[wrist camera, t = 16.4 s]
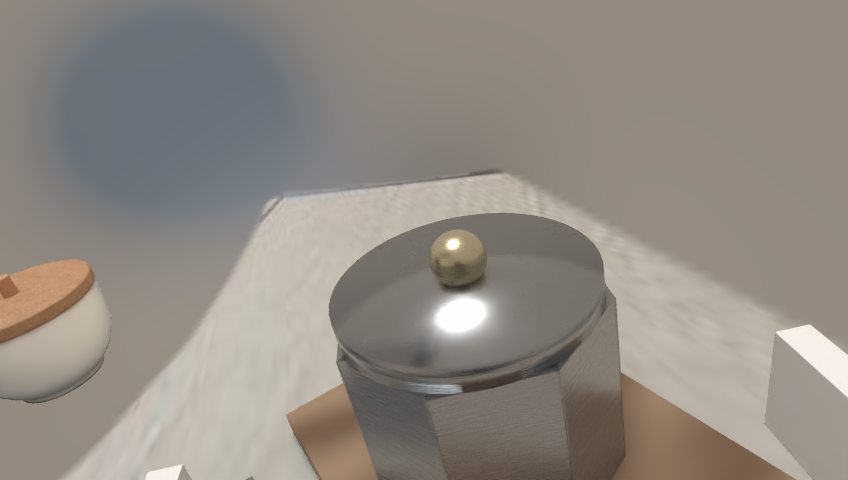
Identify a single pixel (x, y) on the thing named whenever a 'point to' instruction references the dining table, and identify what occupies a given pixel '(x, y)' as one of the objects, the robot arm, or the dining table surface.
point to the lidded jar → (51, 330)
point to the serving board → (636, 476)
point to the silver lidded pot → (483, 352)
